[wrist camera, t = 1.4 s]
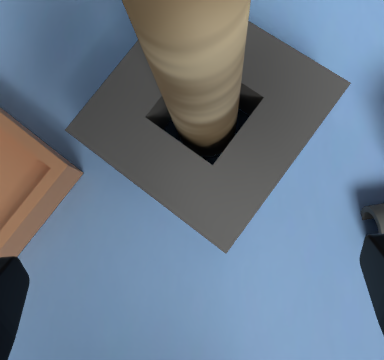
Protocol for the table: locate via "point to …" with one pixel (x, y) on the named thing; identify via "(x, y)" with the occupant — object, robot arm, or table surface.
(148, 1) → the dowel
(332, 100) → the holder
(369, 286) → the robot arm
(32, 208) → the tray
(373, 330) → the table surface
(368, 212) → the race car
